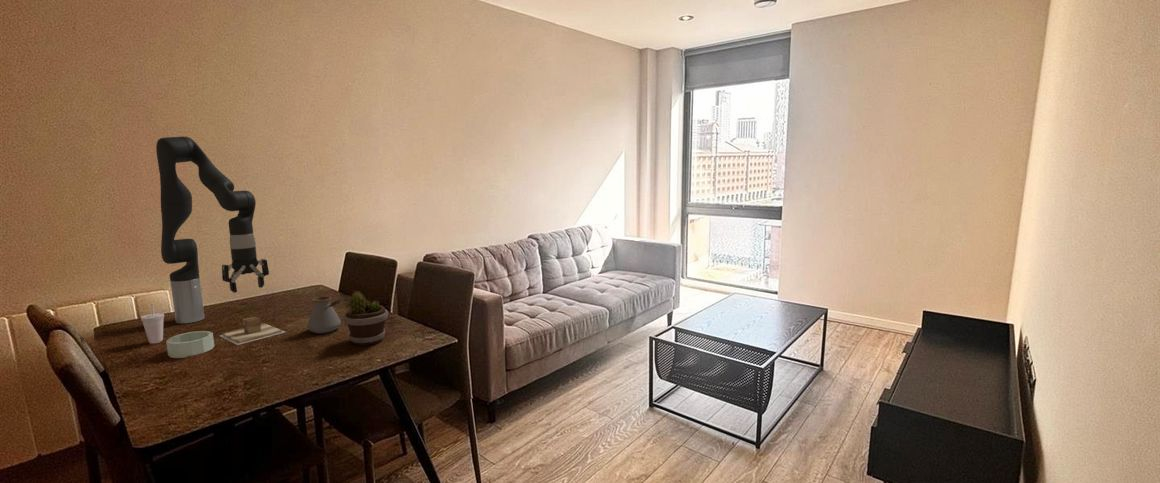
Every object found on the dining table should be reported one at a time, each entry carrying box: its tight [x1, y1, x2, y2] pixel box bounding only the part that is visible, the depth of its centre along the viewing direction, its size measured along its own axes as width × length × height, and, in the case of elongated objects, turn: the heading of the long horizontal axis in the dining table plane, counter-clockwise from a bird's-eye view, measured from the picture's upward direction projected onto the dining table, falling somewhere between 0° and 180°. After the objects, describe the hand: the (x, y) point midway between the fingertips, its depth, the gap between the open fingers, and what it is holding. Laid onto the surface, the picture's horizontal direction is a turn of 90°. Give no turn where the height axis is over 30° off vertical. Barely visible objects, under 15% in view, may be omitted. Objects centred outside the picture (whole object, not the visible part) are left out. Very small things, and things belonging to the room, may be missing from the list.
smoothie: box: [140, 303, 165, 345], centre depth 174 cm, size 6×6×14 cm
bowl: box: [165, 330, 215, 359], centre depth 166 cm, size 12×12×5 cm
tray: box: [219, 330, 286, 346], centre depth 182 cm, size 16×16×1 cm
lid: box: [222, 316, 283, 344], centre depth 182 cm, size 14×14×6 cm
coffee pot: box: [306, 295, 344, 334], centre depth 182 cm, size 21×12×15 cm, turn 49°
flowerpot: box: [342, 290, 389, 346], centre depth 175 cm, size 14×15×20 cm
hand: (247, 289), depth 180 cm, fingers open, 8 cm apart
